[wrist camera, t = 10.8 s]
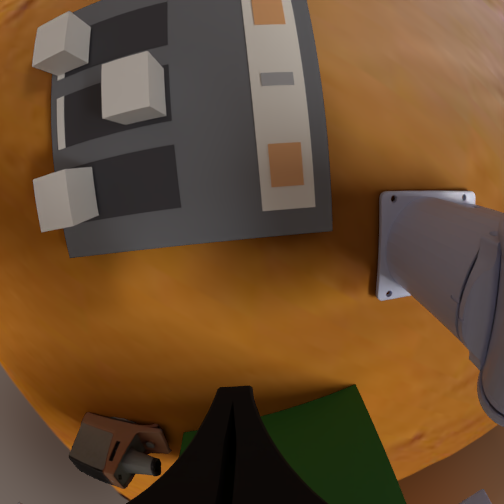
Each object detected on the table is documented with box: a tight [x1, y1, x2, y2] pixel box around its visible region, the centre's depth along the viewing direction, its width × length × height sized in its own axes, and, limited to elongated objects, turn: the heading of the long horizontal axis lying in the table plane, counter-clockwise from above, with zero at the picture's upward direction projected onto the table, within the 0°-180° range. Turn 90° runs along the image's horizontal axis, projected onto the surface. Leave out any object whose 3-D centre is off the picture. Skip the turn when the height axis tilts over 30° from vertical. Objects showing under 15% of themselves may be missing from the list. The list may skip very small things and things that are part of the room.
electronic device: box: [69, 412, 171, 489], centre depth 21 cm, size 4×10×8 cm, turn 93°
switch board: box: [51, 0, 332, 258], centre depth 15 cm, size 17×18×2 cm
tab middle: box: [101, 51, 166, 125], centre depth 12 cm, size 2×3×3 cm
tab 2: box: [33, 167, 99, 232], centre depth 14 cm, size 2×3×3 cm
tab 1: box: [32, 11, 91, 76], centre depth 11 cm, size 2×3×3 cm
